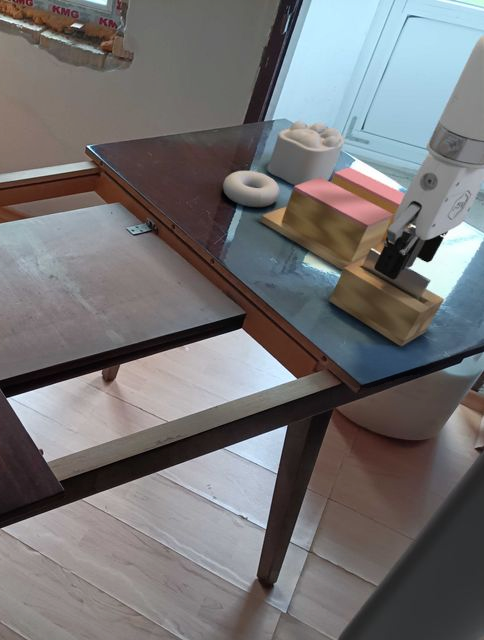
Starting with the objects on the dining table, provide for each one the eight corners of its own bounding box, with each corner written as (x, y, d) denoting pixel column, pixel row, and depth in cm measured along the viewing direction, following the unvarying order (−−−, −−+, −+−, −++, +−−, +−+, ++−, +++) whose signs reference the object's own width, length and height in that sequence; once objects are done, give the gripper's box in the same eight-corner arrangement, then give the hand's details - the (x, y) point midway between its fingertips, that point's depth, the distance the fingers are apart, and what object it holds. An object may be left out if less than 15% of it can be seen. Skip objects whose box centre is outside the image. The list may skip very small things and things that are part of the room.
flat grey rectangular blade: (408, 324, 97) (452, 246, 89) (399, 329, 96) (443, 251, 88) (354, 291, 103) (390, 215, 94) (345, 295, 102) (381, 219, 93)
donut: (253, 181, 130) (210, 187, 127) (259, 164, 128) (215, 170, 125) (287, 207, 123) (242, 214, 120) (293, 189, 121) (247, 196, 118)
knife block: (424, 332, 98) (444, 299, 94) (400, 346, 95) (420, 312, 91) (353, 289, 105) (368, 256, 101) (328, 301, 102) (343, 267, 98)
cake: (423, 249, 115) (444, 208, 110) (359, 280, 107) (379, 237, 102) (324, 197, 127) (339, 157, 122) (259, 221, 119) (273, 180, 114)
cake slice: (405, 237, 115) (423, 202, 111) (391, 244, 113) (408, 208, 109) (335, 200, 123) (349, 167, 119) (320, 206, 122) (334, 172, 117)
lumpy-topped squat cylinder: (260, 168, 134) (273, 125, 129) (300, 153, 141) (314, 112, 135) (304, 190, 128) (320, 146, 123) (344, 174, 135) (361, 131, 129)
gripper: (456, 172, 76) (390, 299, 88) (531, 141, 84) (461, 261, 96) (395, 145, 80) (340, 269, 92) (473, 118, 88) (413, 236, 100)
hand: (402, 264), depth 94 cm, fingers open, 7 cm apart
